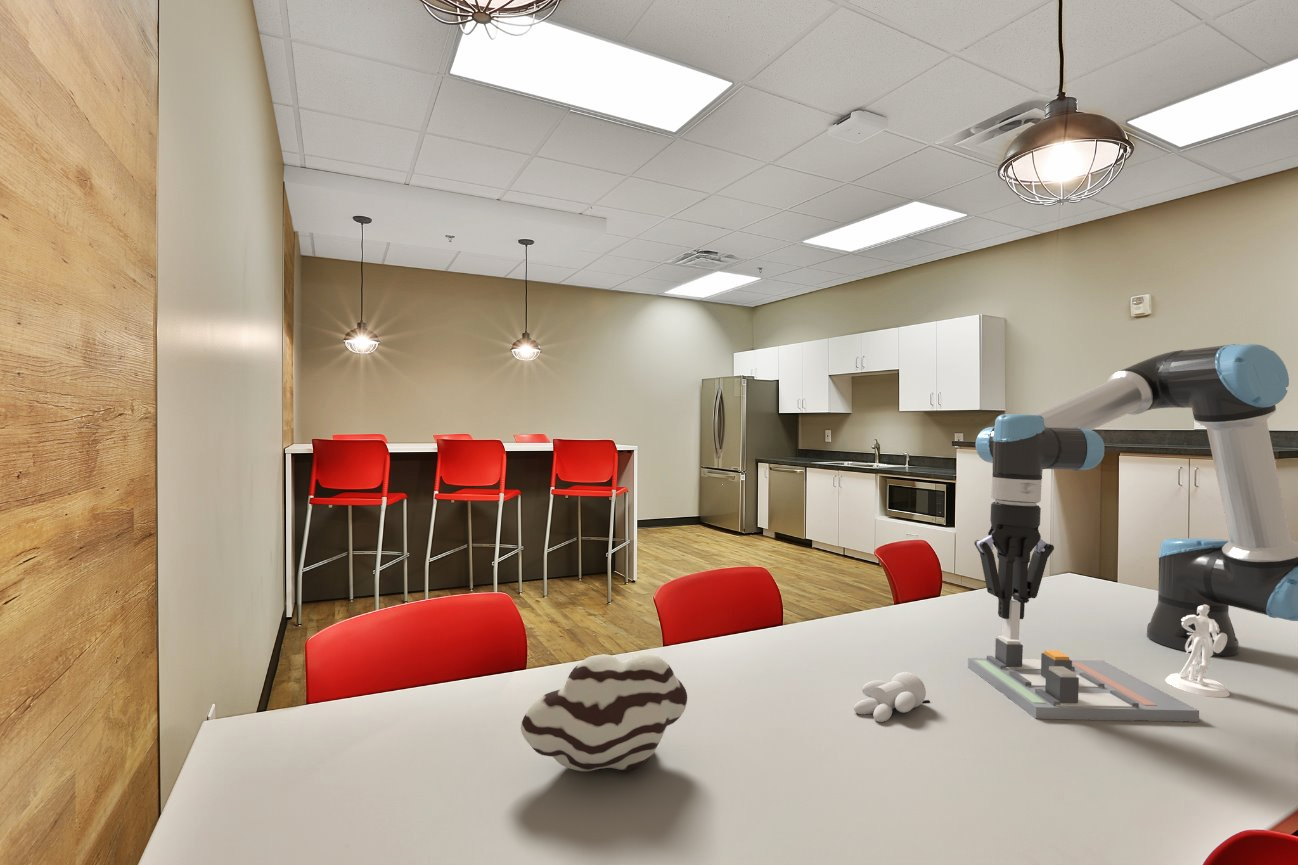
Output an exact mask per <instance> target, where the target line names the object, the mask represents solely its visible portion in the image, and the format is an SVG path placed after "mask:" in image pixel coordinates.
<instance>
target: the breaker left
mask: <svg viewBox="0 0 1298 865" xmlns="http://www.w3.org/2000/svg"><path fill="white" fill-rule="evenodd" d="M994 646H995V650H994V651H995V653H994V654H995V655H994V658H996V659H997V660H999V661H1000V662H1002V663H1003V664H1005V665H1006V666H1010V667H1022V659H1023V656H1024V655H1023V653H1024V652H1023V650H1024V649H1023V648H1024V646H1023V644H1021V640H1020V639H1019V640H1011V639H1009V638H1007V637H1005V636H1004V635H998V637H996V638H995V645H994Z"/></svg>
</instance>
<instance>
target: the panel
mask: <svg viewBox="0 0 1298 865" xmlns="http://www.w3.org/2000/svg"><path fill="white" fill-rule="evenodd" d="M1070 660H1071V661H1072V672H1074V673H1075V674H1076V677H1078V678H1079V690H1078V703H1060V701H1058V700H1057V699H1055V698H1054V697H1052V696H1051V695H1049V694H1048V693H1046V692H1045V684H1046V678H1044V677H1043V676H1041V658H1040V659H1037V658H1022V667H1010V666H1006V665H1005V664H1003V663H1002V662H1000V661H999V660H997V659H996V658H995V656H993V655H986V657H968V658H967V668H969V669H970V670H972V672H974V674H977V675H978V676H979V677H981V678H982V679H983V680H984V681H985V682H987V683H988V684H990V685H991V686H992V687H994V688H995V689H996V690H997V691H999V692H1000V693H1001V694H1003V695H1004V696H1006V697H1007V698H1008V699H1009V700H1011V701H1012V702H1014V703H1015V704H1016V705H1017V706H1018V707H1020V708H1021V709H1022V710H1024V711H1025V712H1027V713H1028V714H1029V715H1030V716H1032V718H1034V719H1041V720H1042V719H1043V720H1045V719H1048V720H1049V719H1050V720H1086V721H1087V720H1088V719H1090V720H1091V721H1092V720H1093V721H1095V720H1096V721H1134V720H1148V721H1147V722H1183V721H1189V722H1192V723H1193V722H1194V723H1195V722H1196V723H1199V722H1200V710H1199V709H1198V708H1195V707H1193V706H1191V705H1189V704H1187V703H1186V702H1184V701H1182V700H1180V699H1178V698H1176V697H1174V696H1172V695H1170V694H1168V693H1167V692H1164V691H1163V690H1160V689H1159V688H1157V687H1156V686H1155V687H1154V686H1153V685H1152V684H1151V685H1150V684H1149V683H1147V682H1146V681H1143V680H1142V679H1140V678H1138V677H1135V676H1133V675H1132V674H1130V673H1128V672H1126V671H1124V670H1122V669H1120V668H1118V667H1116V666H1114V665H1112V664H1110V663H1108V662H1106V661H1105V660H1092V659H1091V660H1090V659H1088V660H1087V659H1085V660H1084V659H1070ZM1090 720H1089V721H1090Z"/></svg>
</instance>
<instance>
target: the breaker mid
mask: <svg viewBox="0 0 1298 865" xmlns="http://www.w3.org/2000/svg"><path fill="white" fill-rule="evenodd" d="M1040 659H1041V676H1043V677H1044V678H1046V669H1049V666H1063V667H1065V668H1067V669H1069V670H1070V671H1072V661H1071V660H1072V659H1070V656H1069V655H1067V654H1065V653H1064V652H1062V651H1060V650H1053V649H1052V650H1047V649H1045V650H1044V652H1042V653H1041V658H1040Z"/></svg>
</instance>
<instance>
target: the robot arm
mask: <svg viewBox="0 0 1298 865" xmlns="http://www.w3.org/2000/svg"><path fill="white" fill-rule="evenodd" d="M1289 385H1290V379H1289V373H1288V369H1287V366H1286V364H1285V363H1284V361H1283V359H1282V358H1281V357H1280V356H1279V355H1278V353H1276V352H1275V351H1274V350H1272V349H1270V348H1268V347H1267V346H1264V345H1261V344H1256V343H1251V344H1250V343H1248V344H1240V343H1239V344H1235V343H1231V344H1224V345H1219V346H1218V345H1217V346H1210V347H1209V346H1208V347H1203V348H1202V347H1201V348H1200V347H1199V348H1193V349H1192V348H1191V349H1185V350H1184V349H1183V350H1182V349H1181V350H1180V349H1179V350H1173V351H1169V352H1165V353H1162V354H1158V355H1155V356H1152V357H1150V358H1147V359H1145V360H1142V361H1140V362H1137V363H1135V364H1133V365H1131V366H1128V367H1126V368H1124V369H1121V370H1119V371H1116V372H1115V373H1113V374H1111V375H1110V376H1109V377H1108V379H1106V382H1104V383H1102V384H1100V385H1097V386H1094V387H1093V388H1090V389H1087V390H1086V391H1083V392H1081V393H1079V394H1076V395H1075V396H1072V397H1070V398H1067V399H1065V400H1063V401H1060V402H1059V403H1056V404H1054V405H1052V406H1049V407H1047V408H1045V409H1043V410H1040V411H1037V412H1036V413H1033V414H1020V413H1019V414H1016V413H1015V414H1013V413H1012V414H1009V413H1008V414H1000V415H999V416H997V417H996V418H995V421H994V426H988V427H986V428H983V429H982V430H980V432H979V433H978V435H977V437H976V439H975V448H976V449H975V450H976V454H977V455H978V457H979V458H980V459H982V461H984V462H986V463H990V464H992V479H991V492H990V493H991V495H990V497H991V499H993V500H994V501H993V502H992V503H991V504H990V520H989V521H990V524H991V525H990V528H989V530H988V532H987V536H986V537H984V538H982V539H981V540H980V539H976V540H975V541H974V546H975V547H976V549H977V552H979V555H980V560H981V566H982V572H983V576H984V581H985V587H986V591H987V592H988V594H990V595H992V596H994V597H995V598H996V597H997V600H998V601H997V602H998V604H997V605H998V609H997V615H998V617H999V618H1001V636H1005V637H1007V638H1009V639H1011V640H1019V641H1020V620H1024V617H1025V604H1027V603H1029V602H1030V599H1036V598H1037V597H1038V593H1039V590H1040V587H1041V582H1042V580H1043V576H1044V574H1045V573H1044V572H1045V569H1046V566H1047V562H1048V558H1049V557H1050V555H1051V554H1052V552H1054V549H1055V546H1054V544H1051V543H1047V542H1046V541H1044V540H1043V539H1042V537H1041V533H1040V531H1039V527H1040V525H1041V512H1042V511H1041V509H1042V507H1040V506H1039V505H1037V504H1038V503H1040V502H1041V500H1042V483H1043V482H1042V480H1043V470H1059V471H1061V470H1062V471H1064V470H1066V471H1067V470H1068V471H1075V472H1079V471H1085V470H1086V471H1087V470H1091V469H1094V468H1096V467H1097V466H1098V465H1099V464H1100V463H1101V462H1102V460H1103V458H1104V456H1105V442H1104V440H1103V438H1102V437H1101V436H1100V434H1098V433H1097V432H1096V431H1094V429H1096V428H1099V427H1101V426H1104V425H1105V424H1108V423H1110V422H1113V421H1114V420H1117V419H1119V418H1121V417H1124V416H1126V415H1133V416H1134V415H1135V416H1136V415H1139V414H1142V413H1145V412H1147V411H1151V410H1156V409H1170V408H1175V409H1177V408H1178V409H1179V408H1183V409H1186V408H1188V409H1190V408H1191V410H1192V415H1193V420H1194V421H1195V422H1196V423H1198V424H1200V425H1201V426H1204V427H1205V428H1206V433H1207V437H1208V441H1209V442H1208V443H1209V445H1210V446H1209V447H1210V451H1211V455H1212V460H1213V465H1214V470H1215V475H1216V479H1217V483H1218V488H1219V494H1220V498H1221V504H1222V507H1223V509H1222V510H1223V513H1224V518H1225V522H1226V527H1227V533H1228V536H1229V537H1228V538H1229V540H1228V539H1220V538H1197V537H1196V538H1194V537H1193V538H1192V537H1191V538H1188V537H1186V538H1185V537H1183V538H1181V537H1179V538H1178V537H1175V538H1174V537H1173V538H1172V537H1171V538H1166V539H1164V540H1163V541H1161V544H1160V547H1159V555H1158V557H1157V558H1158V587H1157V588H1158V589H1157V590H1158V591H1157V595H1158V596H1157V605H1156V606H1155V609H1154V612H1153V614H1152V616H1151V619H1150V621H1149V622H1148V623H1147V625H1146V638H1148V639H1150V640H1151V641H1153V642H1155V643H1156V644H1160V645H1163V646H1165V647H1168V648H1172V649H1175V650H1180V651H1184V652H1187V651H1186V649H1185V645H1186V643H1187V641H1188V639H1189V638H1190V636H1191V635H1188V634H1187V633H1193V632H1190V631H1188V630H1186V629H1184V628H1183V626H1182V622H1183V621H1181V619H1182V618H1183V617H1186V616H1187V615H1196V616H1199V615H1200V614H1199V612H1198V614H1197V608H1198V606H1201V605H1202V606H1203V605H1208V606H1209V607H1210V608H1209V609H1208V610H1209V612H1208V614H1207V616H1208V618H1210V619H1214V620H1215V621H1216V623H1217V624H1218V625H1219V627H1218V628H1219V629H1220V631H1219V633H1217V632H1216V633H1217V635H1219V634H1220V633H1225V634H1226V635H1227V643H1226V645H1225V647H1224V649H1223V650H1222V651H1221V652H1220V653H1216V652H1214V651H1213V655H1212V656H1216V657H1231V656H1236V655H1238V654H1239V651H1240V650H1239V648H1240V646H1239V645H1240V644H1239V639H1238V638H1237V637H1236V633H1235V629H1234V626H1233V624H1232V621H1231V618H1230V614H1229V610H1230V609H1229V606H1230V607H1233V608H1237V609H1241V610H1244V611H1245V610H1246V611H1250V612H1253V613H1257V614H1261V615H1263V616H1264V615H1266V616H1268V617H1269V618H1272V619H1282V620H1286V621H1290V622H1291V621H1292V622H1298V542H1297V541H1295V540H1293V539H1292V538H1291V534H1290V529H1289V523H1288V519H1287V514H1286V510H1285V505H1284V499H1283V494H1282V490H1281V485H1280V479H1279V475H1278V470H1277V465H1276V459H1275V455H1274V449H1273V445H1272V439H1271V436H1270V435H1271V434H1270V430H1269V425H1268V424H1269V423H1268V419H1269V418H1271V417H1272V415H1274V414H1275V413H1276V412H1277V407H1276V405H1277V404H1280V403H1281V402H1282V401H1283V400H1284V398H1285V397H1286V395H1287V393H1288V390H1287V388H1288V387H1289ZM994 548H995V549H996V550H997V551H996V554H997V556H996V557H997V559H998V565H997V564H996V562H997V561H996V559H995V558H996V557H995V554H994V552H993V550H994ZM1032 551H1033V552H1032ZM1031 554H1032V555H1031ZM997 566H998V567H997ZM1188 627H1189V628H1191V629H1192V630H1194V631H1195V630H1196V627H1195V625H1194V624H1191V625H1188ZM1192 635H1193V634H1192ZM1210 636H1211V638H1212V642H1213V643H1214V641H1215V640H1213V636H1212V633H1210ZM1191 645H1192V639H1191V640H1190V642H1189V644H1188V649H1189V647H1190V646H1191ZM1189 653H1192V651H1190V652H1189ZM1201 655H1202V652H1201Z"/></svg>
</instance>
